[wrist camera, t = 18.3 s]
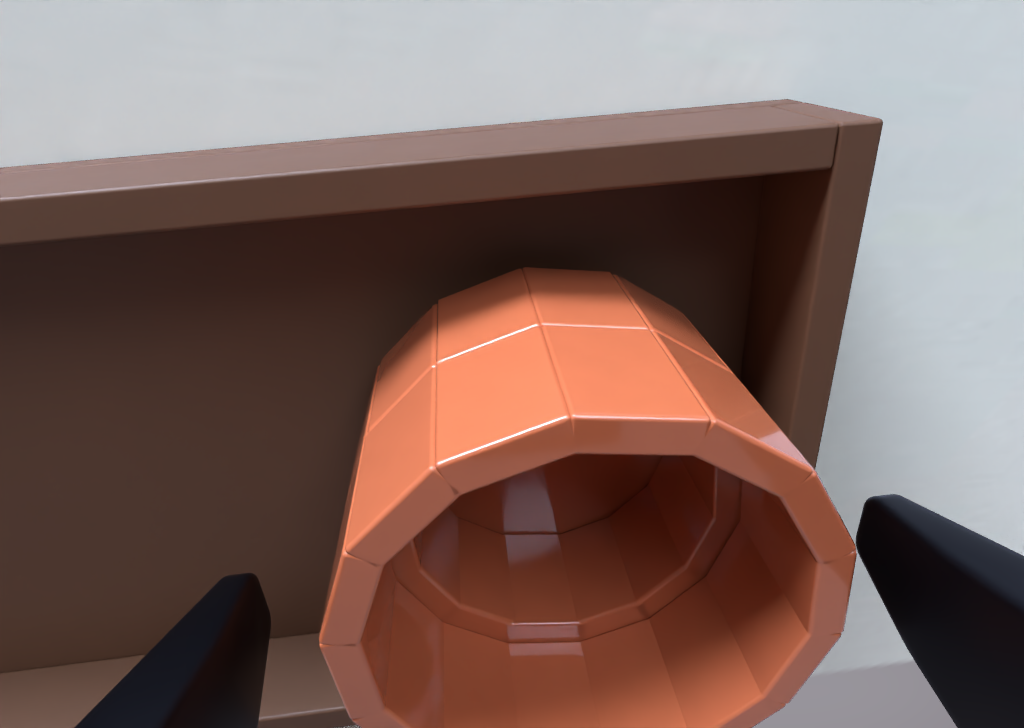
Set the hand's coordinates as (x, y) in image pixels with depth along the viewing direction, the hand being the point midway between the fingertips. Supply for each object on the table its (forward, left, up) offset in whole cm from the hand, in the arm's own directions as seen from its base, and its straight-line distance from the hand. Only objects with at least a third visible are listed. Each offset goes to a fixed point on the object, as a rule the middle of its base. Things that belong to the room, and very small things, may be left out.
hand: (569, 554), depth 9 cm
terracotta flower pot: (0, 0, -4) cm, 4 cm away
